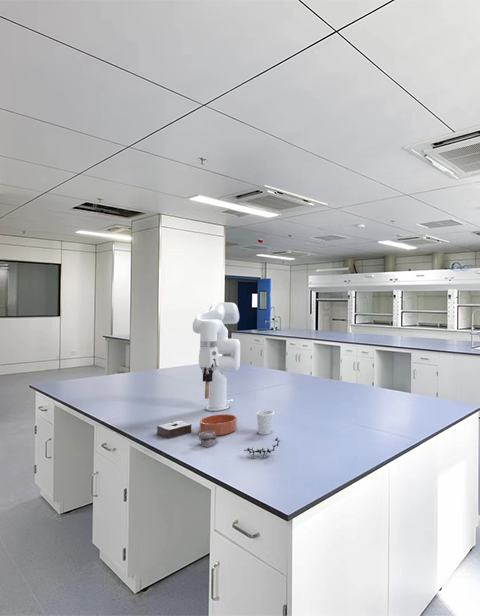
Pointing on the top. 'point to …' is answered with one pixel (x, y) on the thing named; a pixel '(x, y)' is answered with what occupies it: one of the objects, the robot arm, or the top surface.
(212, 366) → the robot arm
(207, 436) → the dental mold
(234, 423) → the mixing bowl
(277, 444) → the molecular model
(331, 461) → the top surface
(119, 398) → the top surface
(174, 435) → the holder
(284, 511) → the top surface
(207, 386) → the light wooden dowel
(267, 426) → the dixie cup
